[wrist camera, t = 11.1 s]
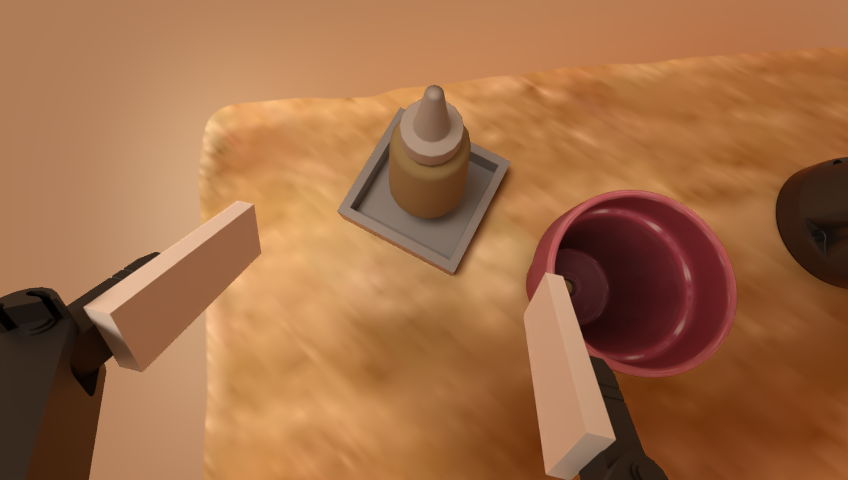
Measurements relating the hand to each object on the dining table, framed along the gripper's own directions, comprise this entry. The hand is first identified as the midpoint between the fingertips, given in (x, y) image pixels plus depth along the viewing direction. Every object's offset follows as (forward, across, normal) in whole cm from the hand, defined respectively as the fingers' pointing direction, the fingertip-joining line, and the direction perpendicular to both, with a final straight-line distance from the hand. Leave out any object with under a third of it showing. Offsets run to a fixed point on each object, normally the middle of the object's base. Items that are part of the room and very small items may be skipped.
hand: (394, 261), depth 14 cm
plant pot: (+18, +17, -13) cm, 28 cm away
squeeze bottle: (+22, -1, -7) cm, 24 cm away
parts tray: (+23, -1, -8) cm, 24 cm away
